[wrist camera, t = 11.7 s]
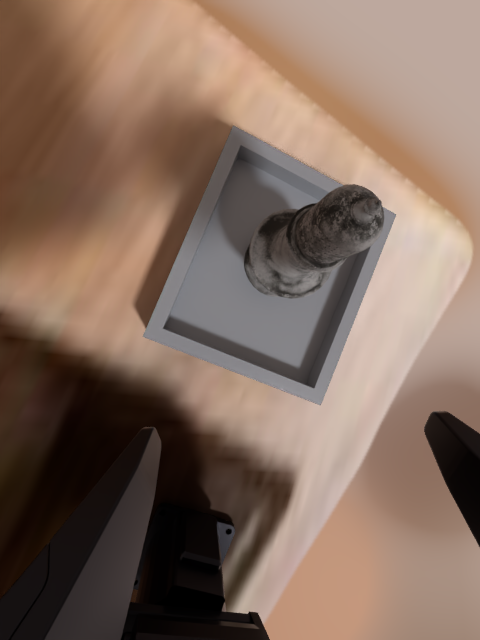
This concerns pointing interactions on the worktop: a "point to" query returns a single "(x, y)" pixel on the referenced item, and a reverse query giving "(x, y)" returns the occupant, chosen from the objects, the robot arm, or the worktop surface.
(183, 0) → the worktop surface
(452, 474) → the robot arm
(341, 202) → the grey tall rounded piece
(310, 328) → the grey tray
